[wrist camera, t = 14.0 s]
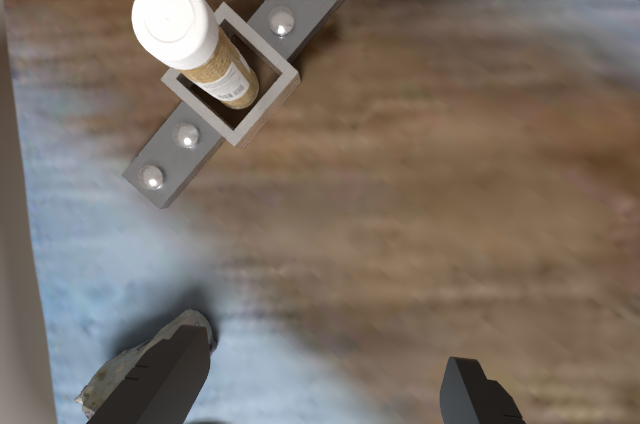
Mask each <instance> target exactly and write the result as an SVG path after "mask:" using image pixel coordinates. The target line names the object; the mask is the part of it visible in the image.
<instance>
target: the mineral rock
mask: <svg viewBox="0 0 640 424" xmlns="http://www.w3.org/2000/svg"><path fill="white" fill-rule="evenodd" d="M182 324H186V325H195V326H203V327H206V329H207V335H208V343H209V352H210V357H211V355H212V353H213V352H214V351H215V350H216V348H217V344H216V342H215V340H214V339H213V335H212V329H211V326H210V324H209V322H208V320H207V319H206V318H205V317H204V316H203V315H202V314H201V313H200V312H198V311H197V310H192V309H188V310H185V311H184V312H183V313H182V314H181V315H180V316H178V317H177V318H176V319H174V320H173V321H172V322H171V323H169V324H167V325H166V326H165V327H163V328H161V329H160V331H159V332H158V333H157V334H156V335H155V336H154V337H152V338H151V339H149V340H147V341H145V342H143V343H141V344H140V345H139V346H137V347H135V348H133V349H127V350H124V351H122V352H121V353H120V354H118V355H117V356H116V357H115V358H112V359H110V360H109V361H107V362H106V363H105V364H104V365H103V366H102V367H101V368H100V369H99V370H98V371H97V373H96V374H95V375H94V376H93V378H92V379H91V381H90V382H89V383H88V385H86V386H85V387H84V389H83V390H82V391H81V394H80V395H79V396H78V397H77V398H76V399H75V400H74V401H75V402H77V403H80V404H83V406H82V412H84V413H85V415H86V417H87V418H88V419H89V420H90V418H91V417H92V416H93V415H94V414H95V412H96V411H97V410H98V409H99V408H100V406H101V405H102V404H103V403H104V401H105V400H106V399H107V398H108V397H109V395H110V394H111V393H112V392H113V391H114V389H115V388H116V387H117V386H118V385H119V383H120V382H121V381H122V380H124V379H125V376H126V375H127V374H128V372H129V371H130V370H131V369H132V368H134V367H135V364H136V363H137V362H138V360H139V359H140V358H141V357H142V355H143V354H144V353H145V352H146V351H147V350H148V349H149V348H151V347H152V346H153V345H155V344H156V343H158V342H159V341H160V340H162V339H170V338H171V337H172V335H173V334H174V333H175V331H176V330H177V329H178V328H179V326H181V325H182Z"/></svg>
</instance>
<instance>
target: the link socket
mask: <svg viewBox="0 0 640 424" xmlns="http://www.w3.org/2000/svg"><path fill="white" fill-rule="evenodd" d="M214 15H215V17H216V20H217V23H218V25H219V26H220V27H221V28H222V30H223V31H224V33H225V34H226V36H227V37H228V38H229V40H231V38H232V37H233V36H234V35H236V36H237V37H238V38H239V39H240V40H241V41H242V42H243V43H245V44H246V45H247V46H248V47H249V48H250V49H251V50H252V51H253V52H254V53H255V54H256V55H257V56H258V57H260V58H261V59H262V60H263V61H264V62H265V63H266V64H267V65H268V66H269V67H270V68H271V69H272V70H273V71H274V72H276V73H277V74H278V75H279V76H280V77H279V78H278V79H277V81H276V82H275V83H274V84H273V85H272V86H271V88H270V89H269V90H268V91H267V92H266V94H265V95H264V96H263V97H262V98H261V99H260V101H259V102H258V103H257V104H256V105H255V106H254V108H253V109H252V110H251V111H250V112H249V113H248V115H247V116H246V117H245V118H244V119H243V120H242V122H241V123H240V124H239V125H238V126H237V127H236V129H234V128H233V127H232V126H231V125H230V124H229V123H228V122H226V121H225V120H224V119H223V118H222V117H221V116H220V115H219V114H218V113H217V112H216V111H214V110H213V109H212V108H211V107H210V106H209V105H208V104H207V103H206V102H205V101H203V100H202V99H201V98H200V97H199V96H198V95H197V94H196V93H195V92H194V91H192V90H191V89H190V88H191V87H192V86H193V85H194V84H195V83H194V82H192V81H191V80H189V79H188V78H187V77H186V76H185V75H184V74H183V73H181V72H180V71H178V70H177V69H176V68H172V67H170V68H169V70H168V71H167V72H166V73H165V75H164V76H163V77H162V78H161V81H163V82H164V83H165V84H166V85H167V86H168V87H169V88H170V89H171V90H173V91H174V92H175V93H176V94H177V95H178V96H179V97H180V98H181V99H182V100H184V101H185V102H186V103H187V104H188V105H189V106H190V107H191V108H192V109H193V110H195V111H196V112H197V113H198V114H199V115H200V116H201V117H202V118H203V119H205V120H206V121H207V122H208V123H209V124H210V125H211V126H212V127H213V128H214V129H216V130H217V131H218V132H219V133H220V134H221V135H222V136H223V137H224V138H226V139H227V140H228V141H229V142H230V143H231V144H232V145H233V146H234V147H237V148H240V149H244V148H245V147H246V146H247V145H248V144H249V142H250V141H251V140H252V139H253V138H254V137H255V135H256V134H257V133H258V132H259V131H260V130H261V129H262V127H263V126H264V125H265V124H266V123H267V122H268V120H269V119H270V118H271V117H272V116H273V115H274V113H275V112H276V111H277V110H278V109H279V108H280V107H281V105H282V104H283V103H284V102H285V101H286V100H287V98H288V97H289V96H290V95H291V94H292V93H293V92H294V90H295V89H296V88H297V87H298V86H299V85H300V83H301V80H300V76H299V72H298V71H297V70H296V69H295V68H294V67H292V66H291V65H290V64H289V63H288V62H287V61H286V60H285V59H284V58H283V57H282V56H281V55H280V54H279V53H278V52H277V51H276V50H274V49H273V48H272V47H271V46H270V45H269V44H268V43H267V42H266V41H265V40H264V39H263V38H262V37H261V36H260V35H259V34H257V33H256V32H255V31H254V30H253V29H252V28H251V27H250V26H249V25H248V24H247V23H246V22H245V21H244V20H243V19H242V18H240V17H239V16H238V15H237V14H236V13H235V12H234V11H233V10H232V9H231V8H230V7H229V6H228V5H227V4H226V3H225V2H223V3H222V4H221V5H220V6H219V8H218V9H217V10H216V11H215V13H214Z"/></svg>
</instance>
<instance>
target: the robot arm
mask: <svg viewBox="0 0 640 424" xmlns="http://www.w3.org/2000/svg"><path fill="white" fill-rule="evenodd" d="M209 369H210V352H209V343H208V335H207V329H206V327H203V326H195V325H186V324H182V325H181V326H179V328H178V329H177V330H176V331H175V333H174V334H173V335H172V337H171V338H170V339H162V340H160V341H159V342H158V343H156V344H155V345H153V346H152V347H151V348H149V349H148V350H147V351H146V352H145V353H144V354H143V355H142V357H141V358H140V359H139V360H138V362H137V363H136V364H135V367H134V368H132V369H131V370H130V371H129V372H128V374H127V375H126V376H125V379H124V380H122V381H121V382H120V383H119V385H118V386H117V387H116V388H115V389H114V391H113V392H112V393H111V394H110V395H109V397H108V398H107V399H106V400H105V401H104V403H103V404H102V405H101V406H100V408H99V409H98V410H97V411H96V412H95V414H94V415H93V416H92V417H91V418H90V420H89V421H88V422H87V423H86V424H183V422H184V420H185V419H186V417H187V415H188V413H189V411H190V409H191V407H192V405H193V403H194V402H195V400H196V398H197V396H198V394H199V392H200V390H201V388H202V386H203V385H204V383H205V381H206V379H207V376H208V373H209ZM440 408H441V413H442V417H443V421H444V424H526V423H525V421H523V420H522V416H521V414H520V412H519V410H518V408H517V406H516V404H515V402H514V400H513V398H512V397H511V396H510V395H509V394H508V393H507V392H506V390H505V389H504V388H503V387H502V386H501V385H500V384H499V383H498V382H497V381H494V380H487V378H486V376H485V374H484V372H483V370H482V368H481V365H480V364H479V362H478V361H477V360H476V359H467V358H459V357H450V358H449V360H448V363H447V367H446V371H445V374H444V378H443V382H442V386H441V390H440Z"/></svg>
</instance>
